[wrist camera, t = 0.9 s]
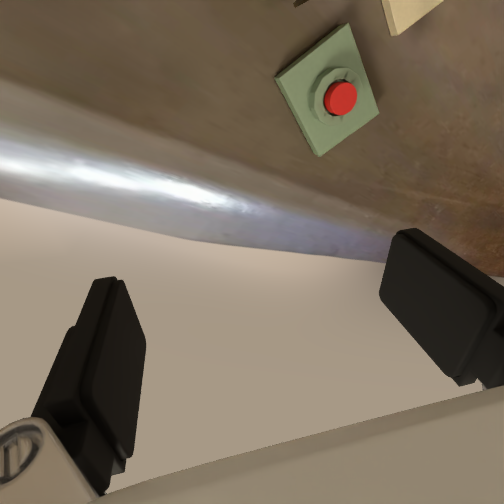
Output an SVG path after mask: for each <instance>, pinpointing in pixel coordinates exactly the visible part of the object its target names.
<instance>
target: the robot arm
mask: <svg viewBox="0 0 504 504" xmlns="http://www.w3.org/2000/svg"><path fill="white" fill-rule="evenodd" d="M379 296H380V299H381V301H382V302H383V303H384V304H385V306H386V307H387V308H388V309H389V310H390V311H391V313H392V314H393V315H394V316H395V317H396V318H397V319H398V321H399V322H400V323H401V324H402V325H403V326H404V327H405V329H406V330H407V331H408V332H409V333H410V335H411V336H412V337H413V338H414V339H415V340H416V341H417V343H418V344H419V345H420V346H421V347H422V348H423V350H424V351H425V352H426V353H427V354H428V355H429V357H430V358H431V359H432V360H433V361H434V362H435V364H436V365H437V366H438V367H439V368H440V369H441V370H442V372H443V373H444V374H445V375H447V376H448V377H451V378H452V379H453V380H454V381H455V382H456V383H457V385H458V386H464V385H468V384H472V383H474V382H475V381H476V379H477V378H478V379H479V380H480V381H481V382H482V388H483V391H480V392H475V393H472V394H468V395H464V396H460V397H456V398H452V399H448V400H444V401H440V402H436V403H433V404H429V405H425V406H421V407H417V408H413V409H409V410H405V411H401V412H398V413H394V414H390V415H386V416H382V417H378V418H375V419H371V420H367V421H363V422H359V423H356V424H352V425H348V426H344V427H340V428H337V429H333V430H329V431H325V432H321V433H318V434H314V435H310V436H306V437H302V438H299V439H295V440H292V441H288V442H284V443H280V444H276V445H272V446H269V447H265V448H261V449H257V450H254V451H250V452H246V453H243V454H239V455H236V456H231V457H227V458H224V459H220V460H216V461H213V462H209V463H206V464H202V465H199V466H195V467H192V468H189V469H185V470H181V471H178V472H174V473H171V474H167V475H164V476H161V477H157V478H154V479H150V480H147V481H144V482H141V483H138V484H135V485H132V486H129V487H126V488H123V489H120V490H117V491H115V492H111V493H109V494H107V493H106V492H105V491H106V490H107V489H108V487H109V485H110V479H111V476H112V475H116V474H120V473H123V472H125V465H126V458H130V457H132V455H133V451H134V443H135V435H136V428H137V418H138V411H139V402H140V394H141V386H142V377H143V369H144V361H145V353H146V339H145V336H144V333H143V331H142V328H141V325H140V323H139V320H138V318H137V315H136V312H135V309H134V307H133V304H132V301H131V299H130V296H129V294H128V291H127V289H126V286H125V283H124V281H123V280H117V278H116V277H114V276H113V277H106V278H100V279H95V280H94V281H93V283H92V286H91V288H90V290H89V293H88V296H87V298H86V300H85V303H84V305H83V308H82V310H81V313H80V315H79V318H78V320H77V323H76V325H75V326H72V327H71V328H69V330H68V331H67V333H66V335H65V338H64V340H63V343H62V345H61V347H60V349H59V352H58V354H57V356H56V359H55V361H54V363H53V366H52V368H51V370H50V373H49V375H48V377H47V380H46V382H45V384H44V387H43V389H42V391H41V394H40V396H39V399H38V401H37V403H36V405H35V408H34V410H33V413H32V415H31V417H29V418H23V419H20V420H17V421H15V422H12V423H10V424H9V425H7V426H5V427H4V428H2V429H1V430H0V504H504V287H503V286H502V285H500V284H499V283H497V282H496V281H495V280H493V279H491V278H490V277H489V276H487V275H486V274H484V273H483V272H481V271H480V270H478V269H477V268H475V267H474V266H472V265H471V264H469V263H468V262H466V261H465V260H464V259H462V258H461V257H459V256H458V255H456V254H455V253H453V252H452V251H450V250H449V249H447V248H446V247H444V246H443V245H441V244H440V243H438V242H437V241H435V240H434V239H433V238H431V237H430V236H428V235H427V234H425V233H424V232H422V231H421V230H419V229H417V228H411V229H405V230H400V231H398V232H397V233H396V235H395V236H394V237H393V238H392V242H391V246H390V250H389V254H388V258H387V262H386V266H385V270H384V274H383V278H382V282H381V286H380V290H379Z"/></svg>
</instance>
